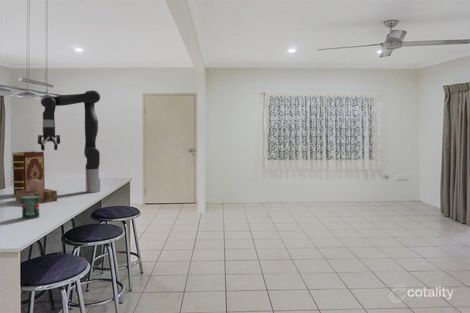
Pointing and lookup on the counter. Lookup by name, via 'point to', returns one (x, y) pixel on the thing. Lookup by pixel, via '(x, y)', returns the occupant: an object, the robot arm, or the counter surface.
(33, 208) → the canned tomato
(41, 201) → the book stand
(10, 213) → the counter surface
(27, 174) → the decorative book
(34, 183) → the pink rectangular block
